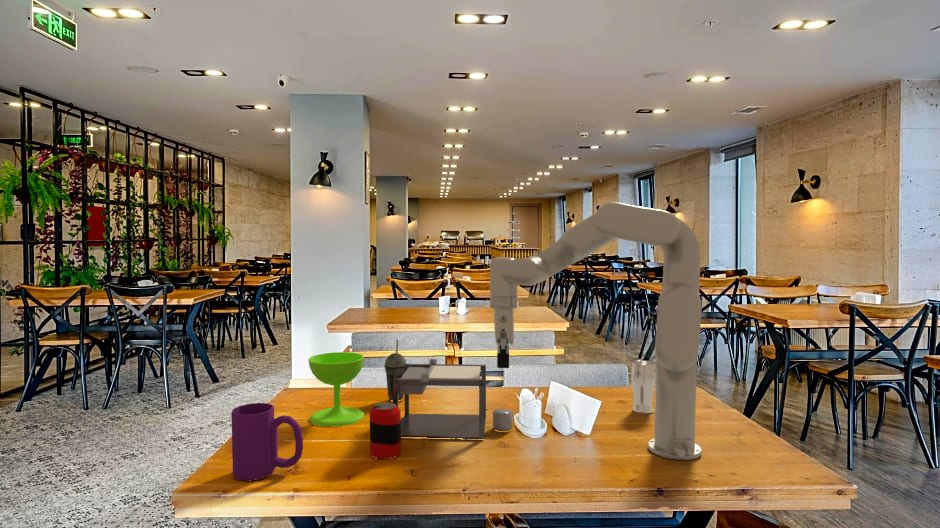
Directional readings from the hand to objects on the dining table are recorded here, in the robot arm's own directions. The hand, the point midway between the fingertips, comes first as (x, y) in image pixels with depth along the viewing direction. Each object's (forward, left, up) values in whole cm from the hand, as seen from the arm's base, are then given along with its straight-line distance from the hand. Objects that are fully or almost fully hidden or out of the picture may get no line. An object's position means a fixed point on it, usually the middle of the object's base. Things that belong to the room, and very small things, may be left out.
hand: (503, 363), depth 154 cm
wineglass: (+7, +49, -19) cm, 53 cm away
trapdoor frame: (0, +17, -19) cm, 25 cm away
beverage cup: (+25, +35, -19) cm, 47 cm away
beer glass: (+19, -43, -19) cm, 50 cm away
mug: (-32, +53, -19) cm, 65 cm away
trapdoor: (0, +17, -7) cm, 18 cm away
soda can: (-19, +29, -19) cm, 40 cm away
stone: (0, 0, -19) cm, 19 cm away
